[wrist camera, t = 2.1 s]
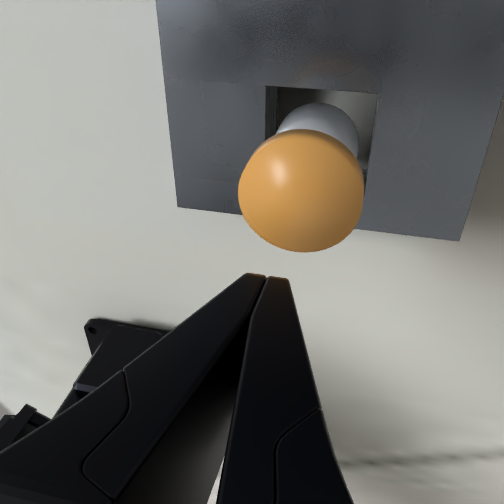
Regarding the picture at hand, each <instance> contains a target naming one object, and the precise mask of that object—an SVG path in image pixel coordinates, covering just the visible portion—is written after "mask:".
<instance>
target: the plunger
mask: <svg viewBox="0 0 504 504" xmlns="http://www.w3.org/2000/svg"><path fill="white" fill-rule="evenodd" d="M358 147H359V138H358V132H357V129H356V127H355V125H354V123H353V121H352V120H351V119H350V117H349V116H348V115H347V114H346V113H345V112H343V111H342V110H341V109H339V108H337V107H335V106H333V105H330V104H326V103H308V104H305V105H302V106H299V107H297V108H296V109H294V110H293V111H291V112H290V113H289V114H288V115H287V116H286V117H285V118H284V120H283V121H282V123H281V125H280V127H279V129H278V131H277V133H276V134H275V135H274V136H272V137H270V138H268V139H267V140H266V141H264V142H263V143H262V144H261V145H260V146H259V147H258V148H257V149H256V150H255V152H254V153H253V155H252V156H251V158H250V160H249V162H248V163H247V165H246V167H245V169H244V171H243V172H242V175H241V178H240V181H239V186H238V199H239V205H240V208H241V211H242V214H243V216H244V218H245V220H246V221H247V223H248V224H249V226H250V227H251V228H252V229H253V230H254V231H255V232H256V233H257V234H258V235H259V236H260V237H261V238H263V239H264V240H266V241H267V242H269V243H271V244H272V245H274V246H277V247H279V248H282V249H285V250H289V251H294V252H315V251H320V250H324V249H327V248H330V247H332V246H334V245H336V244H338V243H339V242H341V241H342V240H343V239H345V238H346V237H347V236H348V235H349V234H350V233H351V232H352V230H353V229H354V228H355V226H356V224H357V223H358V220H359V218H360V215H361V211H362V205H363V195H364V177H363V173H362V170H361V167H360V164H359V163H358V161H357V154H358Z"/></svg>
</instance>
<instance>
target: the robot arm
mask: <svg viewBox="0 0 504 504" xmlns="http://www.w3.org/2000/svg"><path fill="white" fill-rule="evenodd" d="M84 330H85V333H86V337H87V340H88V344H89V347H90V351H91V354H92V357H91V358H90V360H89V361H88V363H87V364H86V366H85V367H84V369H83V370H82V372H81V373H80V375H79V376H78V378H77V379H76V381H75V382H74V384H73V388H72V390H71V391H70V393H69V394H68V396H67V397H66V399H65V400H64V402H63V403H62V405H61V406H60V408H59V409H58V411H57V412H56V414H55V415H54V417H53V418H52V419H50V418H48V417H46V416H44V415H42V414H40V413H38V412H37V409H36V408H34V407H32V406H30V405H28V404H26V405H25V406H24V407H23V408H22V409H21V411H20V412H19V413H18V414H17V415H4V416H3V418H2V419H1V420H0V504H207V502H208V499H209V496H210V494H211V491H212V488H213V485H214V483H215V480H216V477H217V475H218V472H219V469H220V466H221V464H222V461H223V458H224V462H223V468H222V473H221V479H220V484H219V490H218V495H217V501H216V504H354V503H353V500H352V498H351V495H350V493H349V491H348V488H347V486H346V483H345V480H344V478H343V475H342V472H341V470H340V467H339V464H338V462H337V459H336V456H335V453H334V450H333V446H332V443H331V439H330V436H329V433H328V429H327V426H326V422H325V418H324V414H323V411H322V410H321V403H320V399H319V396H318V392H317V388H316V384H315V380H314V376H313V372H312V368H311V364H310V361H309V357H308V353H307V349H306V345H305V341H304V337H303V333H302V329H301V326H300V322H299V318H298V314H297V310H296V306H295V302H294V298H293V294H292V290H291V287H290V283H289V280H288V279H286V278H280V277H274V276H269V277H268V278H266V276H265V275H260V274H253V273H246V274H244V275H243V276H241V277H240V278H239V279H237V280H236V281H235V282H233V283H232V284H231V285H230V286H228V287H227V288H226V289H224V290H223V291H222V292H221V293H219V294H218V295H217V296H215V297H214V298H213V299H212V300H210V301H209V302H208V303H206V304H205V305H204V306H203V307H201V308H200V309H199V310H197V311H196V312H195V313H194V314H192V315H191V316H190V317H188V318H187V319H186V320H185V321H183V322H182V323H181V324H179V325H178V326H177V327H175V328H174V329H173V330H172V331H170V332H167V331H162V330H156V329H150V328H145V327H139V326H133V325H128V324H122V323H116V322H111V321H105V320H99V319H90V320H89V321H88V322H87V323H86V325H85V326H84ZM224 455H225V457H224Z"/></svg>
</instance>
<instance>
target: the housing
mask: <svg viewBox="0 0 504 504" xmlns="http://www.w3.org/2000/svg"><path fill="white" fill-rule="evenodd" d="M156 9H157V18H158V27H159V37H160V46H161V56H162V65H163V74H164V84H165V93H166V102H167V112H168V121H169V131H170V140H171V149H172V159H173V168H174V178H175V187H176V196H177V206H178V207H182V208H190V209H198V210H206V211H215V212H223V213H231V214H239V215H243V214H242V211H241V208H240V205H239V199H238V186H239V181H240V178H241V175H242V172H243V171H244V169H245V167H246V165H247V163H248V162H249V160H250V158H251V156H252V155H253V153H254V152H255V150H256V149H257V148H258V147H259V146H260V145H261V144H262V143H263V142H264V141H266V140H267V139H268V138H270V137H272V136H274V135H275V134H276V121H277V86H281V87H295V88H310V89H324V90H339V91H353V92H368V93H378V99H377V105H376V112H375V119H374V125H373V132H372V138H371V145H370V152H369V158H368V165H367V170H362V173H363V177H364V195H363V205H362V211H361V215H360V218H359V220H358V223H357V224H356V226H355V228H354V229H361V230H370V231H378V232H386V233H394V234H402V235H410V236H419V237H427V238H435V239H443V240H451V241H459V240H460V237H461V234H462V230H463V227H464V224H465V220H466V217H467V214H468V211H469V207H470V204H471V201H472V197H473V194H474V191H475V187H476V184H477V181H478V178H479V174H480V171H481V168H482V164H483V161H484V158H485V154H486V151H487V148H488V145H489V141H490V138H491V135H492V131H493V128H494V125H495V121H496V118H497V115H498V112H499V108H500V105H501V102H502V98H503V95H504V0H156Z"/></svg>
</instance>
